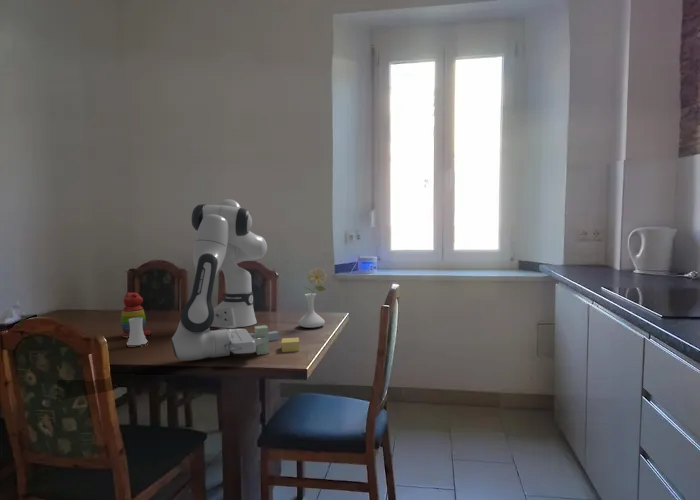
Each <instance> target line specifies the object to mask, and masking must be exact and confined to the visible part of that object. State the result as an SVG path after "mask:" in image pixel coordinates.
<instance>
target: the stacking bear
mask: <svg viewBox="0 0 700 500" xmlns="http://www.w3.org/2000/svg"><path fill="white" fill-rule="evenodd" d="M143 301H144V299H143V297H142V296H141V295H140V294H139V293H137V292H129V291H128V292H126V294H125V295H124V297H123V303H124V306H125V307H123V308H122V311H121V316H120V325H121V326H120V327H121V329H122V335H123V336H129V334H130V324H129V319H131V318H143V320H142V326H143V332H144V335H148V334H151V333H152V331H151V330H148V329H145V328H146V323H147V321H146V319H147V316H146V313H145V310H144V308H143V306H142V304H143ZM122 335H121V336H122ZM151 335H152V334H151Z"/></svg>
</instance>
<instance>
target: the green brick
mask: <svg viewBox="0 0 700 500" xmlns="http://www.w3.org/2000/svg"><path fill="white" fill-rule="evenodd" d="M268 332H269V327H268V326H267V325H265V324H264V325H256V326H254V334H255V338H256V339H257V338H260V337H265V338H266V343H262V344H259V345H256V351H255V354H256V355H259V356H261V355H267V354H268V353H269V354H270V341H269V333H268ZM260 354H261V355H260Z"/></svg>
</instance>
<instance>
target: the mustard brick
mask: <svg viewBox="0 0 700 500" xmlns="http://www.w3.org/2000/svg"><path fill="white" fill-rule="evenodd" d="M281 352H282V353H289V352H300V337H283V338H281Z"/></svg>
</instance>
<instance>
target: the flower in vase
mask: <svg viewBox="0 0 700 500" xmlns="http://www.w3.org/2000/svg"><path fill="white" fill-rule="evenodd" d="M327 278H328V274H326V272H325V270H324V269H323V268H320V267H315V268H312V269H311V270H309V272H308V275H307V279H308V282H309V283H310V285H313V286H314V288H313V290H312V289H311V288H308V287H306V286H305V285H304V286H303V287H304V288H305V289H306V290H307V291H311V293H305V294H304V296H305V298H306V301H307V304H308V305H307V312H306V313H305V314H304V315H303V316H302V317H301V318H299V320H298V322H297V324H298V326H300V327H302V328H308V329H309V328H310V329H314V328H318V327H321V326H324V325H325V323H326V321H325V319H323V317H321V315H318V313H316V312H315V308H314V302H315V297H316V296H317V293H314V292H315V290H317V292H323V291H326V288H325V287H324V286H323V284H324V283H326V282H327V281H326V280H327Z"/></svg>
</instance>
